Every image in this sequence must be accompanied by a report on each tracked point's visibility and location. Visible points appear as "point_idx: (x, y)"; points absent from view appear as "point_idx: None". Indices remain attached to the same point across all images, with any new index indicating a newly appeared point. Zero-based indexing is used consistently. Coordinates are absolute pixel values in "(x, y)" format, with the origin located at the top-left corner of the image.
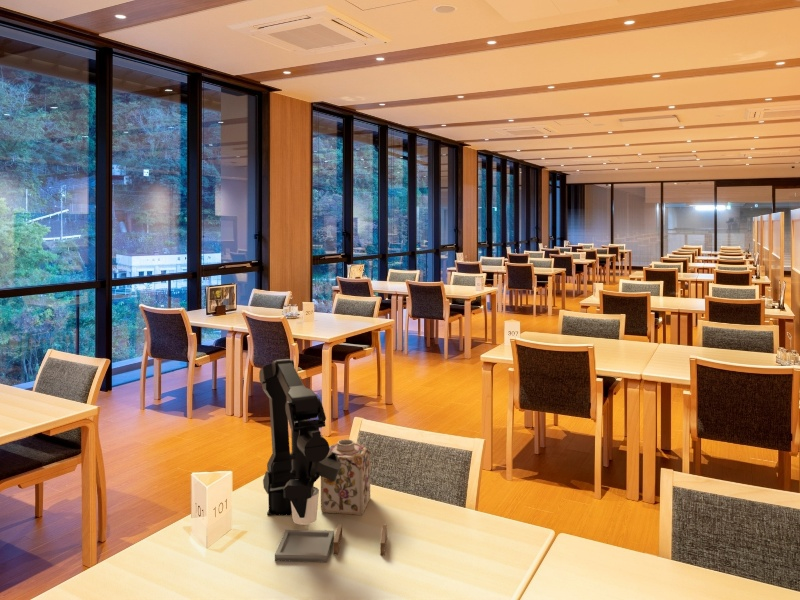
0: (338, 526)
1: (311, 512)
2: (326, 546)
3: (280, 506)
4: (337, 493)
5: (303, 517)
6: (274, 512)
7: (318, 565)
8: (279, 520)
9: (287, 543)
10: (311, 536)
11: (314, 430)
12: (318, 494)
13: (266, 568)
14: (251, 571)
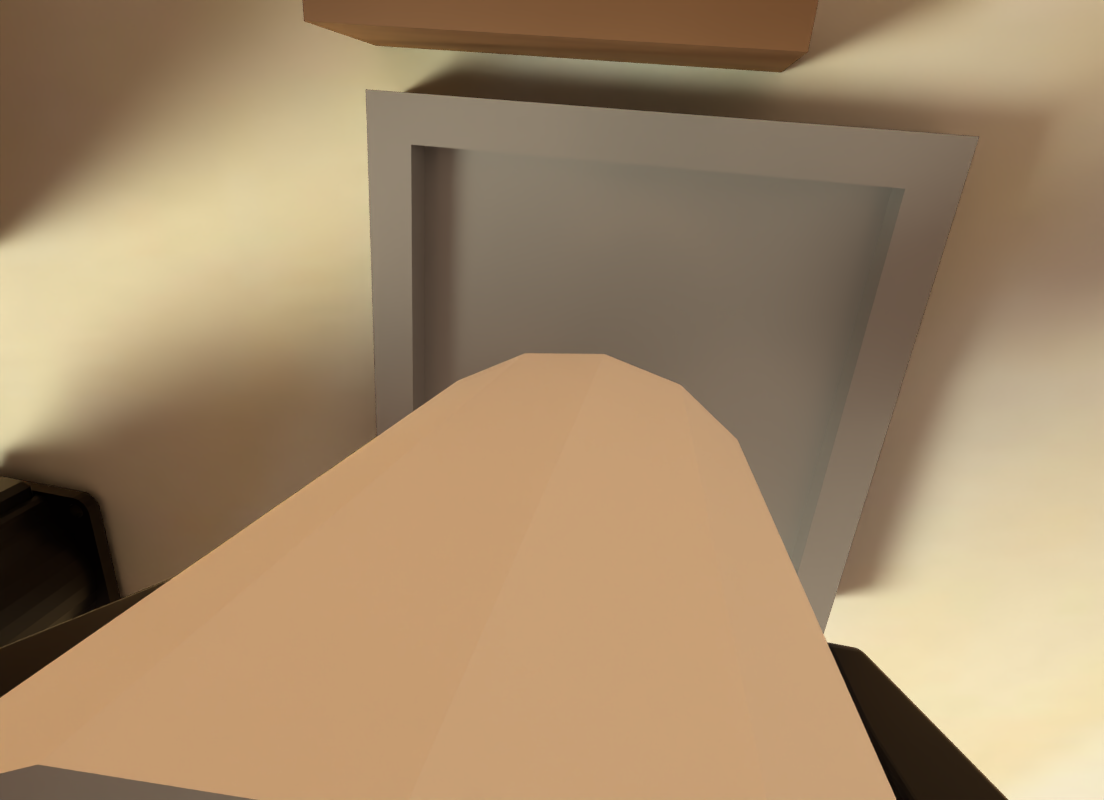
0: (361, 9)
1: (787, 554)
2: (739, 157)
3: (42, 604)
4: None
5: (860, 663)
6: (93, 607)
7: (989, 231)
8: (178, 566)
9: None
10: (448, 330)
11: None
12: (476, 707)
13: (913, 655)
14: None
